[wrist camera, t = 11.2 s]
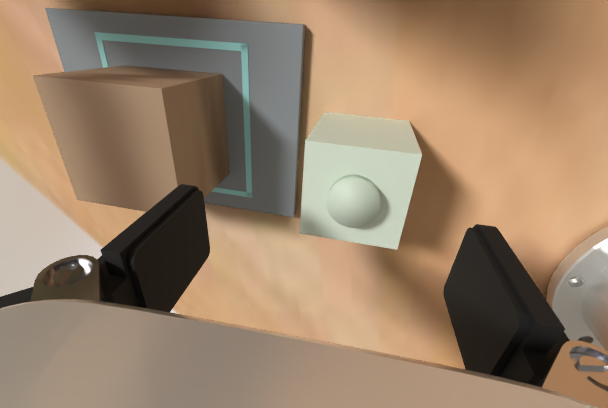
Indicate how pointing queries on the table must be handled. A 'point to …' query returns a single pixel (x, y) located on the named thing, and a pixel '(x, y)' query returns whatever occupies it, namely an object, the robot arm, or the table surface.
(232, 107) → the slate mat
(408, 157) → the sage block
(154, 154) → the walnut block
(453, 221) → the table surface
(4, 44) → the table surface
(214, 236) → the table surface
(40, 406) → the robot arm
